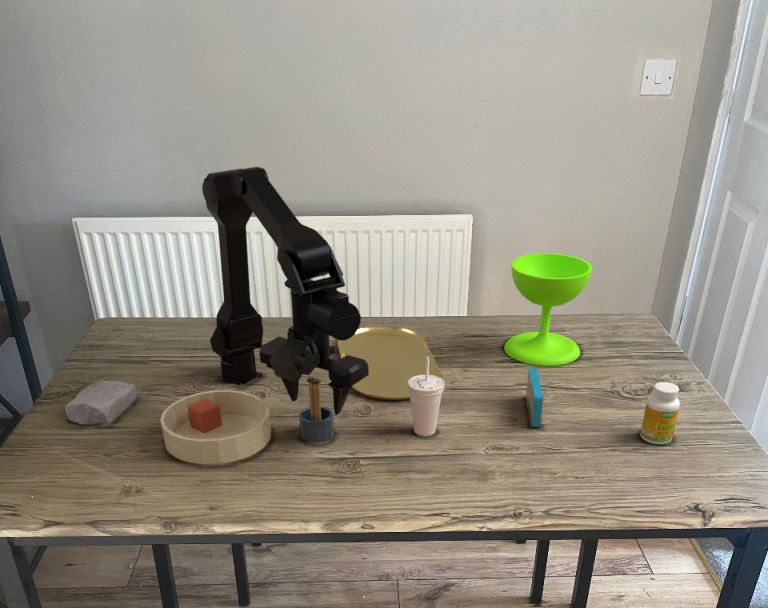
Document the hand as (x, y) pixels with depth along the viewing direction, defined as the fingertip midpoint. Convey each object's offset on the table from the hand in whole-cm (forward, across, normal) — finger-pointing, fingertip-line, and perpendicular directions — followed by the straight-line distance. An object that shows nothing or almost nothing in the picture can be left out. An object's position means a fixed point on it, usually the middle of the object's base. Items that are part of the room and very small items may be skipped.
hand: (315, 407), depth 137 cm
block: (+5, -18, -8) cm, 21 cm away
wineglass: (+6, +18, +56) cm, 59 cm away
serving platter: (+6, -6, +32) cm, 33 cm away
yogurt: (+6, +28, +28) cm, 40 cm away
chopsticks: (+6, 0, 0) cm, 6 cm away
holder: (+6, 0, 0) cm, 6 cm away
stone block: (+6, -40, -14) cm, 43 cm away
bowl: (+6, -14, -10) cm, 18 cm away
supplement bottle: (+6, +50, +32) cm, 59 cm away
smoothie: (+6, +15, +12) cm, 20 cm away
